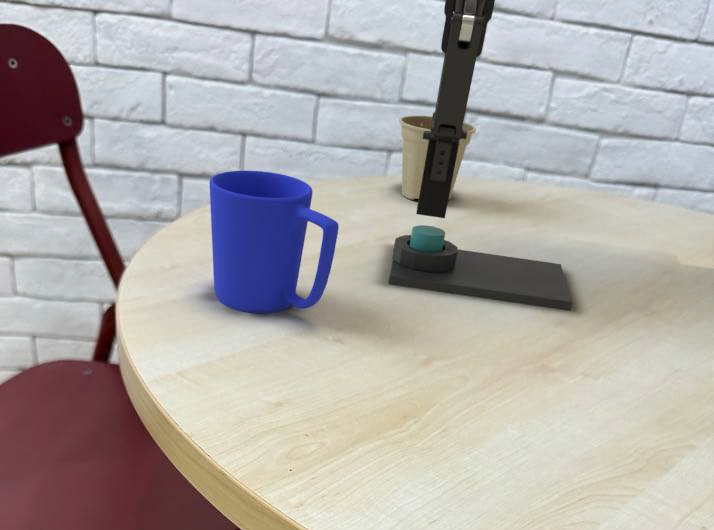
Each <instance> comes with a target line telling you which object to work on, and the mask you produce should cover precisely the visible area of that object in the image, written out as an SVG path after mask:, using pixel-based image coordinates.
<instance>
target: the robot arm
mask: <svg viewBox="0 0 714 530" xmlns="http://www.w3.org/2000/svg"><path fill="white" fill-rule="evenodd" d="M495 2H496V0H445V1H444V7H443V8H444V9H443V10H444V11H443V13H444V16H445V20H444V26H443V31H442V36H441V44H440V49H441V51H442V53H444V57H443V62H442V68H441V74H440V78H439V79H440V80H439V86H438V92H437V97H436V102H435V110H434V112H432V116H433V117H432V119H433V124H431V131H424V133H423V139H425V140H429V143H428V148H427V154H426V160H425V166H424V172H423V177H422V183H421V189H420V195H419V199H418V202H417V207H416V213H415V214H416V215H419V216H427V217H434V218H439V219H446V214H447V209H448V203H449V200H448V199H449V194H450V189H451V184H452V178H453V173H454V168H455V163H456V158H457V152H458V147H459V140H460V139H466V137H467V131H464V130H462V129H463V128H462V126H463V122H465V121H464V120H465V117H466V111H467V107H468V106H467V105H468V101H469V96H470V91H471V86H472V82H473V76H474V72H475V68H476V67H475V66H476V61H477V58H478V57H480V56H481V55H482V53H483V48H484V42H485V38H486V32H487V27H488V23H489V22H490V21H491V19H492V17H493V13H494V8H495Z"/></svg>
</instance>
